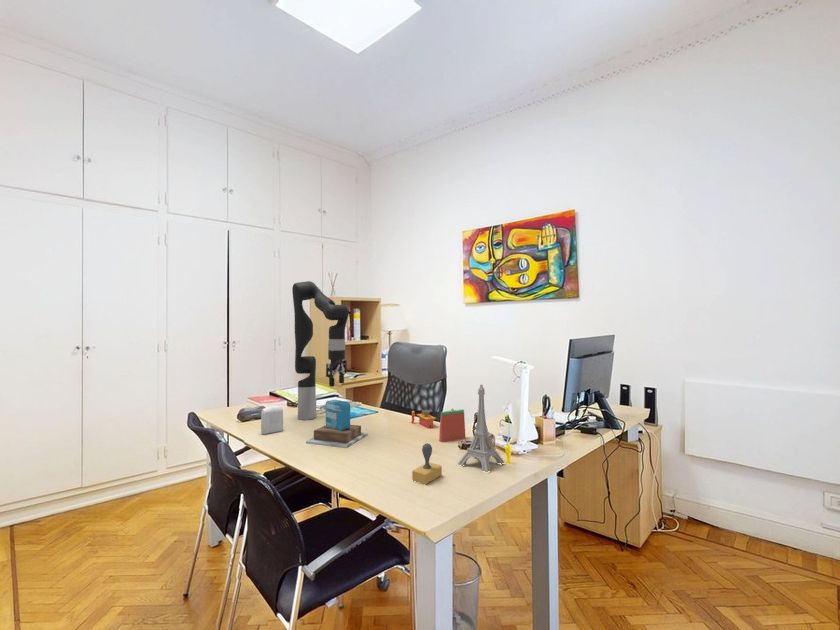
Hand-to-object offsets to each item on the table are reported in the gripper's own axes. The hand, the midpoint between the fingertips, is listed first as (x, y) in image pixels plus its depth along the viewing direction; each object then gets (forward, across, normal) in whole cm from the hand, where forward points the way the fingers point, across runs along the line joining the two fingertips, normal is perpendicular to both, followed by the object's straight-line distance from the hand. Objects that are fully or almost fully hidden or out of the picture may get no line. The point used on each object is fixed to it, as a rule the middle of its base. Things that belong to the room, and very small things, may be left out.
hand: (336, 384), depth 188 cm
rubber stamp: (+24, +30, +53) cm, 65 cm away
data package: (+20, 0, +1) cm, 20 cm away
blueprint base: (+24, +1, +1) cm, 24 cm away
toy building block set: (+25, -27, +38) cm, 53 cm away
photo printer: (+25, +1, -34) cm, 42 cm away
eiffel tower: (+24, +11, +68) cm, 73 cm away
